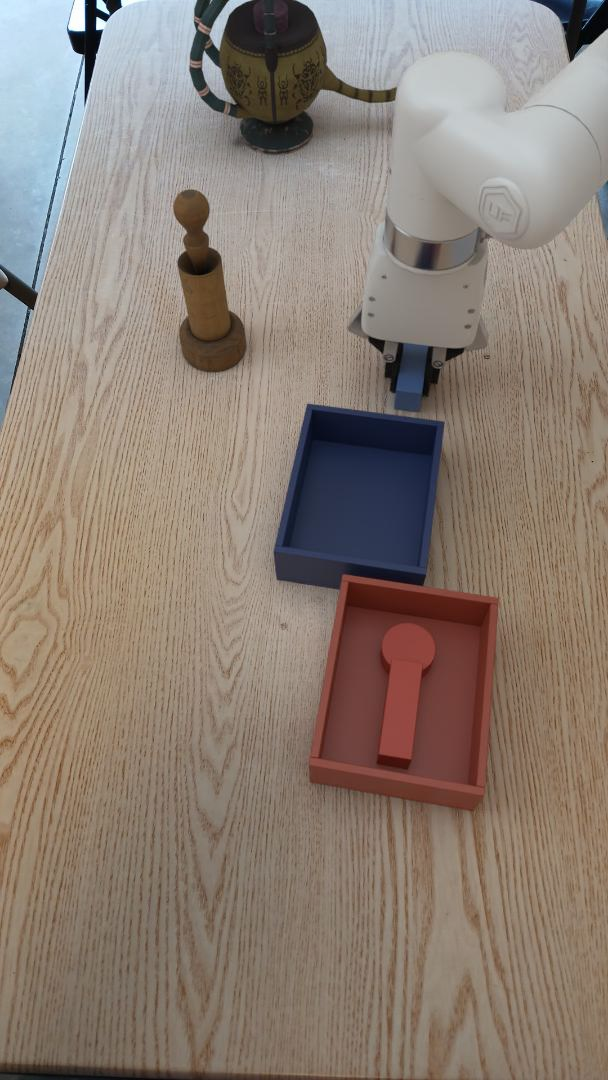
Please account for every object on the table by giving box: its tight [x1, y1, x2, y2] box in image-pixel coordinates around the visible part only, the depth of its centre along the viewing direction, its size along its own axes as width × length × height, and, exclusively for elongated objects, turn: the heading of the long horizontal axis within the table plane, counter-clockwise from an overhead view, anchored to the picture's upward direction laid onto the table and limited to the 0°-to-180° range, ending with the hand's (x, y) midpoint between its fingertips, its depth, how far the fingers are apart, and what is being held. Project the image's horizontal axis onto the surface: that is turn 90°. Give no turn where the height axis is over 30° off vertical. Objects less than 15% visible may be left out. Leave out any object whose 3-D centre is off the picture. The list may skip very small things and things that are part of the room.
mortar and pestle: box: [172, 188, 247, 373], centre depth 76 cm, size 7×6×18 cm
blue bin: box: [273, 403, 446, 590], centre depth 71 cm, size 15×12×5 cm
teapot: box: [188, 0, 398, 156], centre depth 90 cm, size 12×25×23 cm, turn 91°
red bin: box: [308, 574, 500, 812], centre depth 63 cm, size 15×12×5 cm
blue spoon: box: [393, 343, 430, 413], centre depth 81 cm, size 11×4×3 cm, turn 170°
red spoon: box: [377, 623, 436, 769], centre depth 64 cm, size 11×4×3 cm, turn 170°
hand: (410, 381), depth 81 cm, fingers closed on blue spoon, 2 cm apart
